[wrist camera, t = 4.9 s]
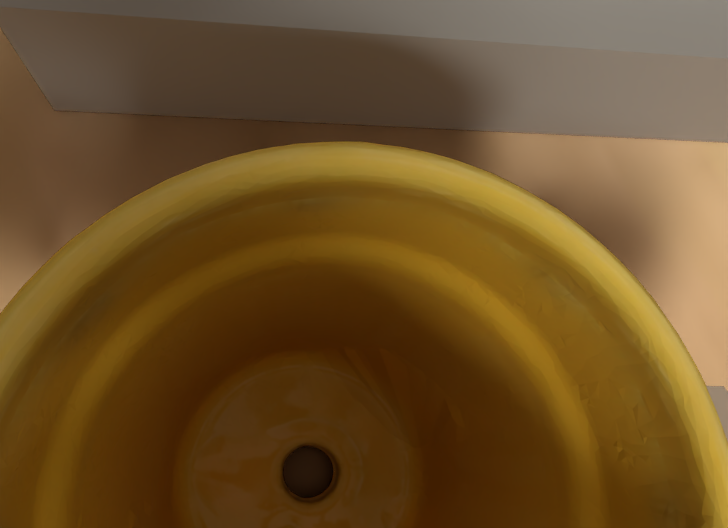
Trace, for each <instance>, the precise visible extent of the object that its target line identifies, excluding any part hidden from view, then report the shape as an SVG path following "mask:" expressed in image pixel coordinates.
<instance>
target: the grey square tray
mask: <svg viewBox="0 0 728 528" xmlns="http://www.w3.org/2000/svg"><path fill="white" fill-rule="evenodd" d="M0 28H1V29H2V31H3V32H4V34H5V35H6V37H7V39H8V40H9V42H10V43H11V45H12V46H13V48H14V49H15V51H16V52H17V54H18V55H19V57H20V59H21V60H22V62H23V63H24V65H25V66H26V68H27V69H28V71H29V72H30V74H31V75H32V77H33V78H34V80H35V82H36V83H37V85H38V86H39V88H40V89H41V91H42V92H43V94H44V95H45V97H46V98H47V100H48V102H49V103H50V105H51V106H52V108H53V109H54V110H58V111H79V112H100V113H121V114H142V115H163V116H184V117H205V118H225V119H246V120H267V121H288V122H309V123H330V124H351V125H372V126H393V127H414V128H434V129H455V130H476V131H497V132H518V133H539V134H560V135H581V136H602V137H623V138H643V139H664V140H685V141H706V142H727V143H728V0H0Z"/></svg>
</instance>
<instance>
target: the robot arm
mask: <svg viewBox="0 0 728 528" xmlns="http://www.w3.org/2000/svg"><path fill="white" fill-rule="evenodd" d="M706 387H707V389H708V392H709V394H710V397H711V399H712V401H713V404H714V406H715V408H716V411H717V414H718V416H719V419H720V422H721V424H722V427H723V430H724V432H725V435H726V438H727V441H728V391H727V390H726V389H725V388H724V386H706Z"/></svg>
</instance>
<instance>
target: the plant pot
mask: <svg viewBox="0 0 728 528" xmlns="http://www.w3.org/2000/svg"><path fill="white" fill-rule="evenodd" d="M303 446H312V447H316V448H318V449H320V450H322V451H323V452H324V453H326V454H327V455H328V457H329V458H330V459H331V462H332V464H333V469H334V473H333V479H332V482H331V484H330V486H329V487H328V488H327V489H326V490H325V491H324V492H323V493H321V494H320V495H318V496H315V497H312V498H302V497H299V496H297V495H295V494H294V493H292V492H291V491H290V490H289V489H288V487H287V486H286V484H285V482H284V479H283V466H284V462H285V460H286V458H287V456H288V455H289V454H290V453H291V452H293V451H294V450H295V449H297V448H300V447H303ZM0 528H728V441H727V438H726V435H725V432H724V430H723V427H722V424H721V422H720V419H719V416H718V414H717V411H716V408H715V406H714V404H713V401H712V399H711V397H710V394H709V392H708V389H707V387H706V385H705V382H704V380H703V378H702V376H701V374H700V372H699V370H698V368H697V366H696V364H695V363H694V361H693V359H692V357H691V356H690V354H689V352H688V350H687V349H686V347H685V345H684V343H683V342H682V340H681V338H680V337H679V335H678V333H677V332H676V330H675V329H674V328H673V326H672V325H671V323H670V322H669V320H668V319H667V318H666V316H665V315H664V313H663V312H662V310H661V309H660V307H659V306H658V304H657V303H656V302H655V300H654V299H653V298H652V296H651V295H650V294H649V293H648V292H647V290H646V289H645V288H644V287H643V286H642V284H641V283H640V282H639V281H638V280H637V279H636V277H635V276H634V275H633V274H632V273H631V272H630V271H629V270H628V269H627V268H626V267H625V266H624V265H623V264H622V263H621V262H620V260H619V259H618V258H617V257H616V256H615V255H614V254H613V253H611V252H610V251H609V250H608V249H607V248H606V247H605V246H604V245H602V244H601V243H600V242H599V241H598V240H597V239H596V238H594V237H593V236H592V235H591V234H590V233H589V232H588V231H586V230H585V229H584V228H583V227H582V226H580V225H579V224H578V223H576V222H575V221H573V220H572V219H571V218H569V217H568V216H567V215H565V214H564V213H563V212H561V211H560V210H558V209H557V208H555V207H554V206H552V205H550V204H549V203H547V202H546V201H544V200H542V199H540V198H539V197H537V196H535V195H534V194H532V193H530V192H528V191H527V190H525V189H523V188H521V187H519V186H517V185H515V184H513V183H511V182H509V181H507V180H505V179H503V178H501V177H499V176H497V175H495V174H493V173H491V172H488V171H485V170H482V169H480V168H477V167H474V166H471V165H469V164H466V163H463V162H460V161H458V160H455V159H451V158H448V157H444V156H440V155H436V154H433V153H429V152H425V151H420V150H416V149H411V148H406V147H399V146H391V145H383V144H375V143H369V142H348V141H343V142H316V143H296V144H291V145H285V146H276V147H271V148H265V149H259V150H254V151H250V152H246V153H242V154H238V155H234V156H230V157H226V158H223V159H220V160H217V161H214V162H211V163H207V164H204V165H202V166H199V167H197V168H194V169H192V170H189V171H187V172H184V173H182V174H179V175H176V176H174V177H171V178H169V179H166V180H165V181H163V182H161V183H159V184H157V185H155V186H153V187H151V188H149V189H148V190H146V191H144V192H142V193H140V194H138V195H136V196H134V197H132V198H131V199H129V200H128V201H126V202H124V203H123V204H121V205H120V206H118V207H116V208H115V209H113V210H112V211H110V212H108V213H107V214H105V215H104V216H102V217H101V218H100V219H98V220H97V221H96V222H94V223H93V224H92V225H90V226H89V227H88V228H86V229H85V230H84V231H82V232H81V233H79V234H78V235H76V236H75V237H74V238H73V239H71V240H70V241H69V242H67V243H66V244H65V245H64V246H63V247H62V248H61V249H60V250H58V251H57V252H56V253H55V254H54V255H53V256H52V257H51V258H50V259H49V260H48V261H47V262H46V263H45V264H44V265H43V266H42V267H41V268H40V269H39V270H38V271H37V272H36V273H35V274H34V275H33V276H32V277H31V278H30V279H29V280H28V281H27V282H26V283H25V284H24V286H23V287H22V288H21V289H20V290H19V291H18V293H17V294H16V295H15V296H14V297H13V298H12V300H11V301H10V302H9V303H8V305H7V306H6V307H5V308H4V310H3V311H2V312H1V314H0Z"/></svg>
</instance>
